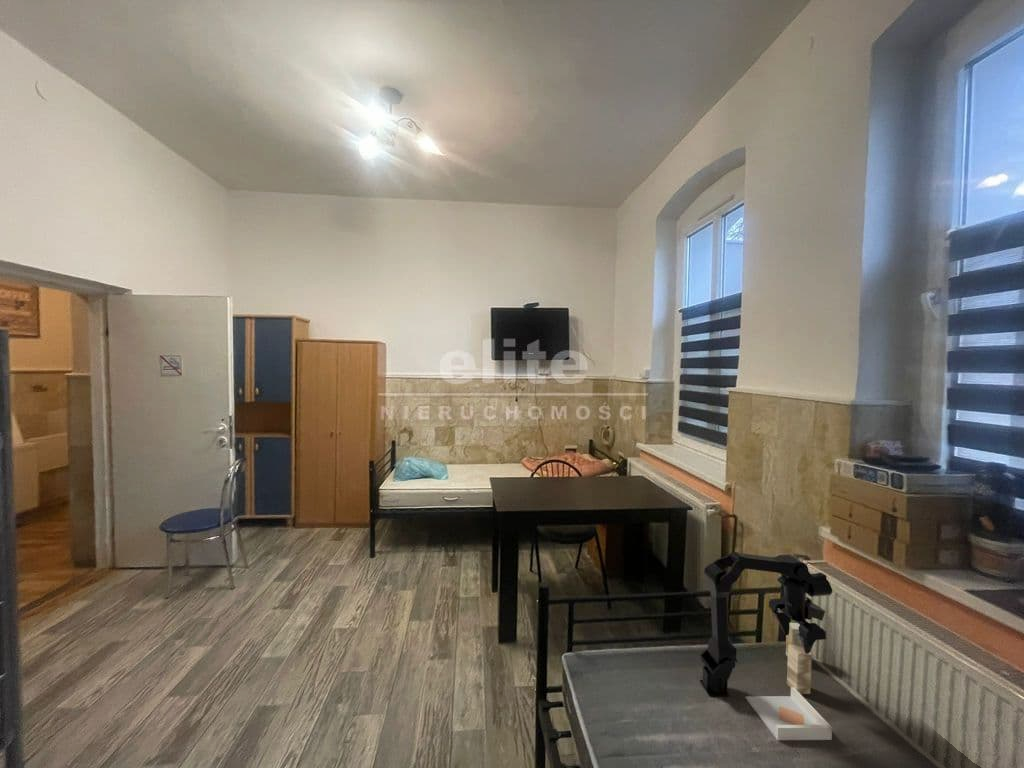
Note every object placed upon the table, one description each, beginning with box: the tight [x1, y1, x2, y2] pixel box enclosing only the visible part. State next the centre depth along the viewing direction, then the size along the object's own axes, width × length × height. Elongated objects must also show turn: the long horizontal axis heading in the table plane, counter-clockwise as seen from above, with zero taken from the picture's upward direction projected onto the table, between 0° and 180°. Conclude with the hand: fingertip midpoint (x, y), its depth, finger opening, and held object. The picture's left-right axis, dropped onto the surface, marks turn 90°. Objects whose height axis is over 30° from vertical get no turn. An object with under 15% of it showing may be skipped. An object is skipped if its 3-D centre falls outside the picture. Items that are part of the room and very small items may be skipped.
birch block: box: [786, 645, 813, 695], centre depth 135 cm, size 4×4×13 cm
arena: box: [745, 687, 833, 741], centre depth 124 cm, size 16×15×4 cm
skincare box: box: [785, 622, 802, 658], centre depth 150 cm, size 6×4×12 cm
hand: (796, 643), depth 135 cm, fingers open, 9 cm apart
